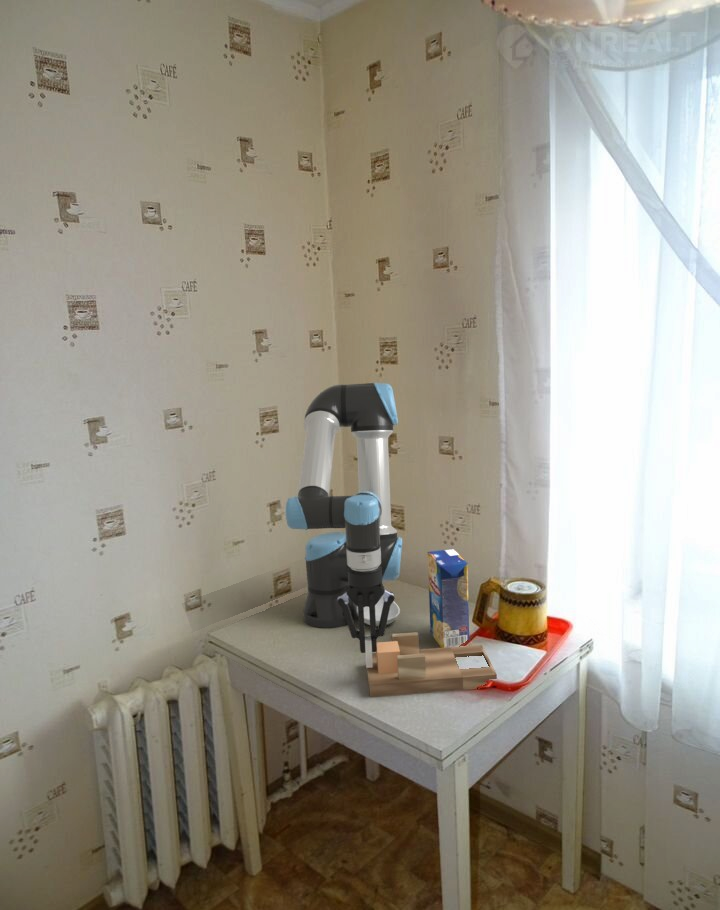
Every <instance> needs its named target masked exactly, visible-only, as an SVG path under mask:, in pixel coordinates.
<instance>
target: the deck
mask: <svg viewBox="0 0 720 910" xmlns="http://www.w3.org/2000/svg"><path fill="white" fill-rule="evenodd" d="M391 637H392V639H391V641H398V645H399V650H400V655H398V656H397V663H398V672H393V673H380V674H379V673H378V666H377V654H376V652H372V663H373V667H371V668H366V674H367V675H366V676H367V682H368V689H369V696H370V698H377V697H391V696H401V695H412V694H427V693H438V692H440V693H441V692H450V691H451V692H452V691H463V690H465V691H466V690H474V689H475V690H477V687H478V686H481V685H482V686H483V685H485V684H487V682H486V681H487V680H489V679H497V680H498V677H497V675H498V674H497V672H496V669H495V668H494V667H493V665H492V662H491V660H490V659H489V656H488V654H487V653H486V651H485V649H484V647H483V644H477V645H476V644H475V645H469V646H460V647H447V648H441V647H436V648H423V649H420V645H419V644H420V643H419V642H420V641H419V633H418V631H416V632H403V633H402V632H400V633H392V634H391ZM482 655H483V656H484V658H485V660H486V662H487V664H488V666H489V667H481V668H469V669H459V666H458V664H457V661H456V659H455V658H456V657H467V656H468V657H469V656H482Z"/></svg>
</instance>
